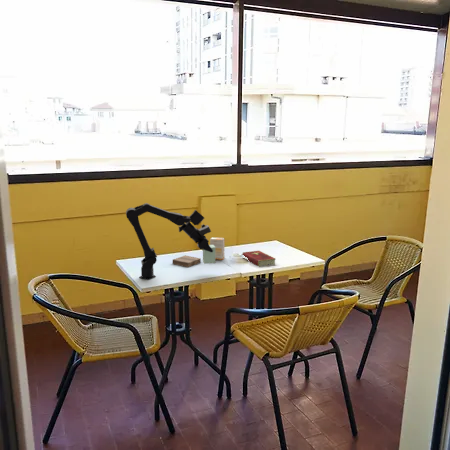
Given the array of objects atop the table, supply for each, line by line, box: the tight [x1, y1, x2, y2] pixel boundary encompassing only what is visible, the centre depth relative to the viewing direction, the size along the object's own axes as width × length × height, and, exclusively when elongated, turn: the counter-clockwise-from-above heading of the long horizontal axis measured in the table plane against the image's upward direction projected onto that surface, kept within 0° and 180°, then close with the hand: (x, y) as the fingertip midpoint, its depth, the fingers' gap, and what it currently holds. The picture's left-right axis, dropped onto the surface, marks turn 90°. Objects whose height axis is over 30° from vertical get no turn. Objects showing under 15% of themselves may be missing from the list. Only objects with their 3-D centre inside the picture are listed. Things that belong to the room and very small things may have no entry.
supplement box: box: [209, 236, 226, 261], centre depth 285 cm, size 8×5×13 cm, turn 74°
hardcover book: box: [241, 250, 276, 267], centre depth 282 cm, size 12×21×4 cm, turn 25°
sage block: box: [202, 244, 216, 265], centre depth 254 cm, size 6×6×9 cm
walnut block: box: [172, 255, 202, 268], centre depth 276 cm, size 12×12×3 cm
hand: (211, 250), depth 253 cm, fingers closed on sage block, 6 cm apart
